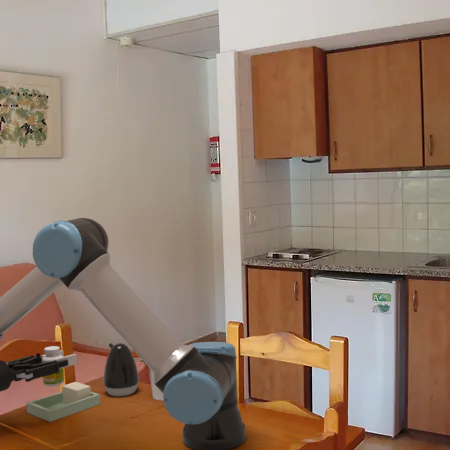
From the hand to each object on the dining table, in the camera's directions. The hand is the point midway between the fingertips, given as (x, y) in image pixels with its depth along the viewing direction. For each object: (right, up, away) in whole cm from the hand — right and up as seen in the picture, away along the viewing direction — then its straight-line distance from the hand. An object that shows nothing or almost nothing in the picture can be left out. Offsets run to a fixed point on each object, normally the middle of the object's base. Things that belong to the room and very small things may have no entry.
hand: (69, 357), depth 174 cm
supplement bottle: (-3, -7, -3) cm, 8 cm away
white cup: (+26, -13, +6) cm, 30 cm away
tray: (-1, -14, -1) cm, 15 cm away
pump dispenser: (+13, -13, +11) cm, 21 cm away
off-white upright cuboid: (+2, -13, +2) cm, 14 cm away
